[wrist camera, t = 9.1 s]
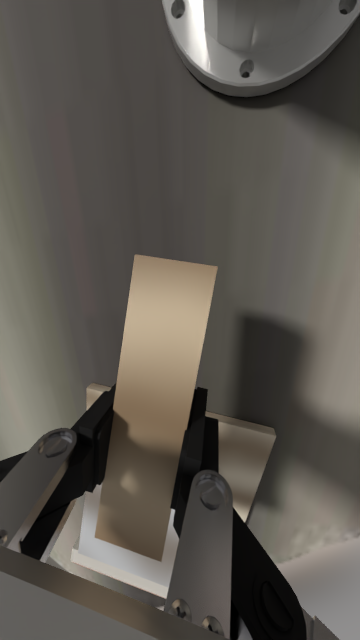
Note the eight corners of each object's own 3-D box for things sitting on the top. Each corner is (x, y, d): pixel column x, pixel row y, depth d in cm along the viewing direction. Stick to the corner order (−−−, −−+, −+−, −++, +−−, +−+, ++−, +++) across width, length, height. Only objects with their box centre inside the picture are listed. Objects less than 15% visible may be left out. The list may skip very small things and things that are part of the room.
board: (92, 382, 22) (79, 394, 20) (273, 428, 20) (280, 447, 18) (91, 491, 28) (80, 510, 26) (234, 539, 25) (235, 564, 23)
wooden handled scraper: (120, 265, 11) (72, 245, 7) (262, 287, 10) (294, 278, 6) (82, 544, 13) (30, 643, 10) (197, 586, 12) (190, 718, 8)
